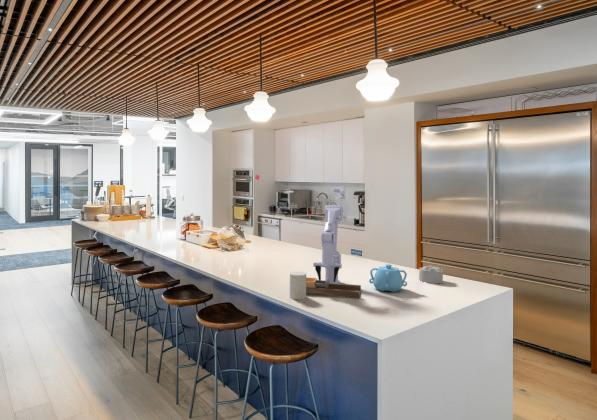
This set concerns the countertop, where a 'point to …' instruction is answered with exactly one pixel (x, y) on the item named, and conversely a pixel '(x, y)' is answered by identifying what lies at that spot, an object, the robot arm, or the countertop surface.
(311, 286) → the drawer
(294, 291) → the cup
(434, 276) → the lumpy-topped squat cylinder
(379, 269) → the decorative pot
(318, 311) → the countertop surface
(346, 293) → the bay
